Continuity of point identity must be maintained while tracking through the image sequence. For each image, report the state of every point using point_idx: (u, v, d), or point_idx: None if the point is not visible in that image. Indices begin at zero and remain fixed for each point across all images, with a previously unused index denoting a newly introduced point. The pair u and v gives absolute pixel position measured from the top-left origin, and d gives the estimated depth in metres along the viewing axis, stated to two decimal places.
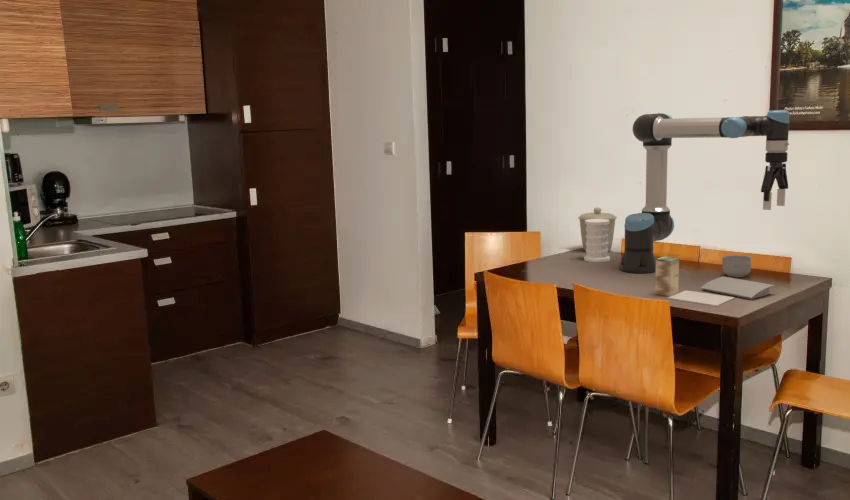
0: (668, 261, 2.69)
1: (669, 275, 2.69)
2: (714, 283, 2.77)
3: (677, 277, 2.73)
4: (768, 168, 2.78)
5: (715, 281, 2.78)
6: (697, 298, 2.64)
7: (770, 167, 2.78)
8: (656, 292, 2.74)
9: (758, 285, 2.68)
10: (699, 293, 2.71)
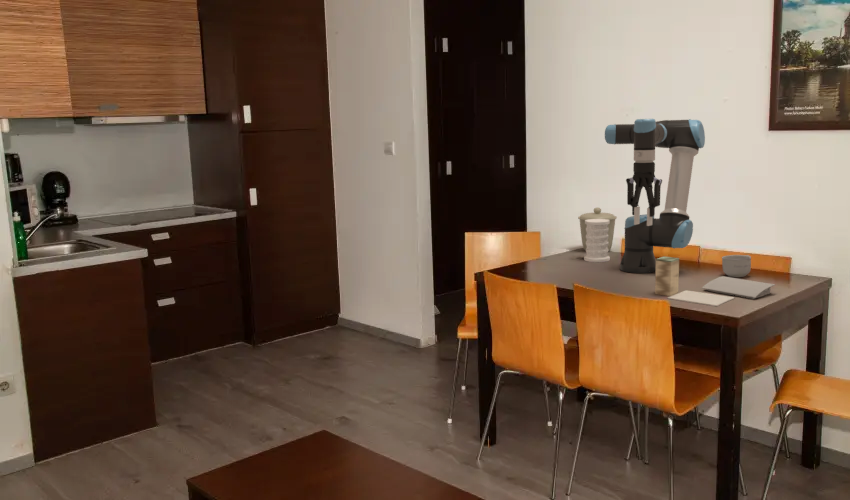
0: (668, 261, 2.69)
1: (669, 275, 2.69)
2: (714, 283, 2.77)
3: (677, 277, 2.73)
4: None
5: (715, 281, 2.78)
6: (697, 298, 2.64)
7: None
8: (656, 292, 2.74)
9: (759, 285, 2.69)
10: (699, 293, 2.71)
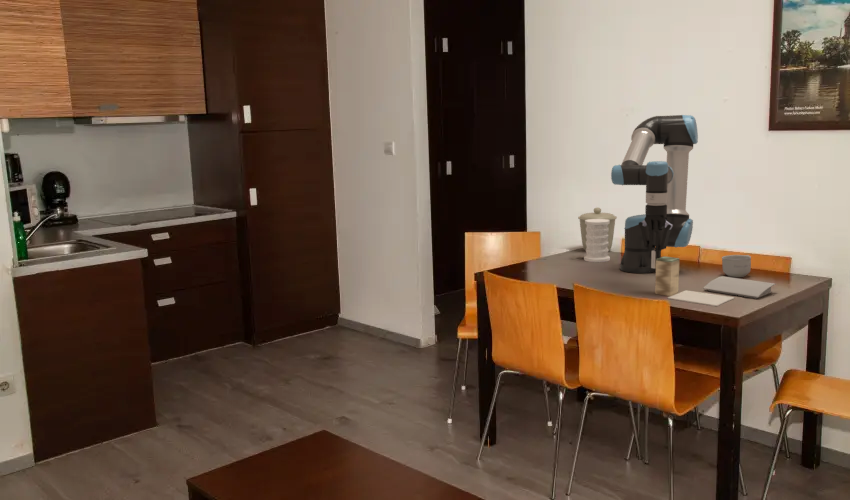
0: (668, 261, 2.69)
1: (669, 275, 2.69)
2: (715, 283, 2.77)
3: (677, 277, 2.73)
4: None
5: (716, 281, 2.78)
6: (697, 298, 2.64)
7: None
8: (656, 292, 2.74)
9: (760, 284, 2.69)
10: (699, 293, 2.71)
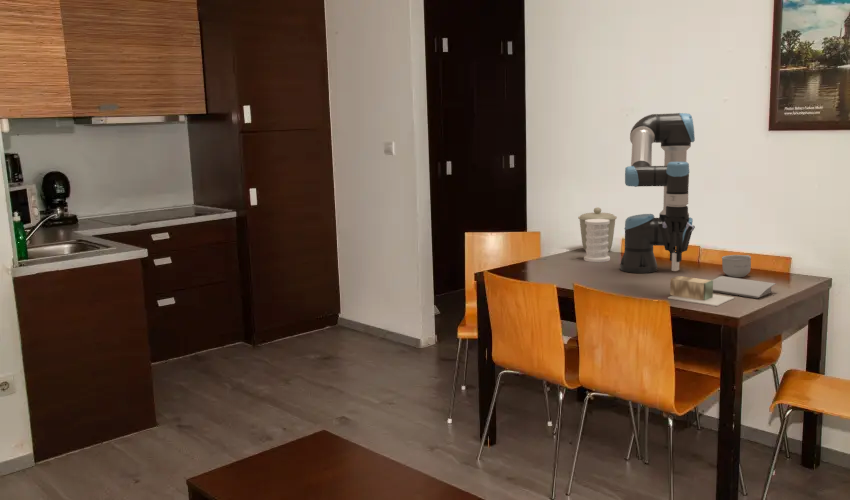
0: (704, 297, 2.61)
1: (689, 296, 2.65)
2: (715, 283, 2.77)
3: None
4: None
5: (716, 281, 2.78)
6: None
7: None
8: (672, 280, 2.69)
9: (761, 284, 2.69)
10: None
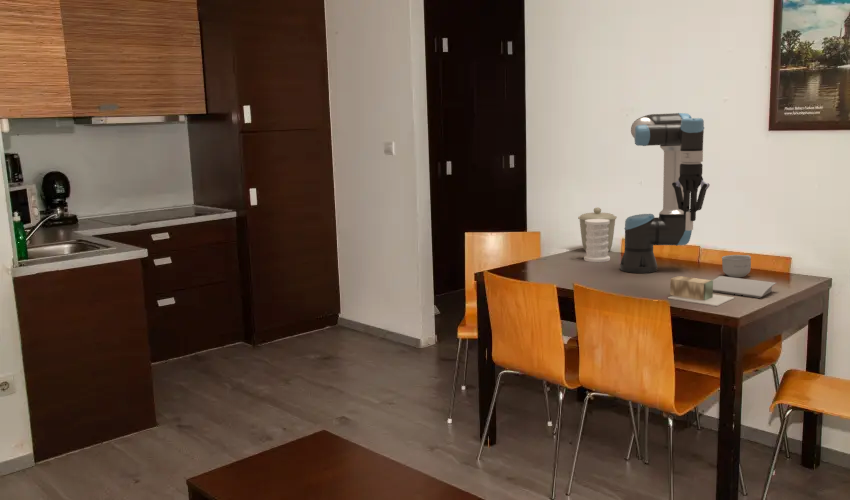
0: (704, 297, 2.61)
1: (689, 296, 2.65)
2: (716, 283, 2.77)
3: None
4: None
5: (716, 281, 2.78)
6: None
7: None
8: (672, 280, 2.69)
9: (762, 283, 2.70)
10: None
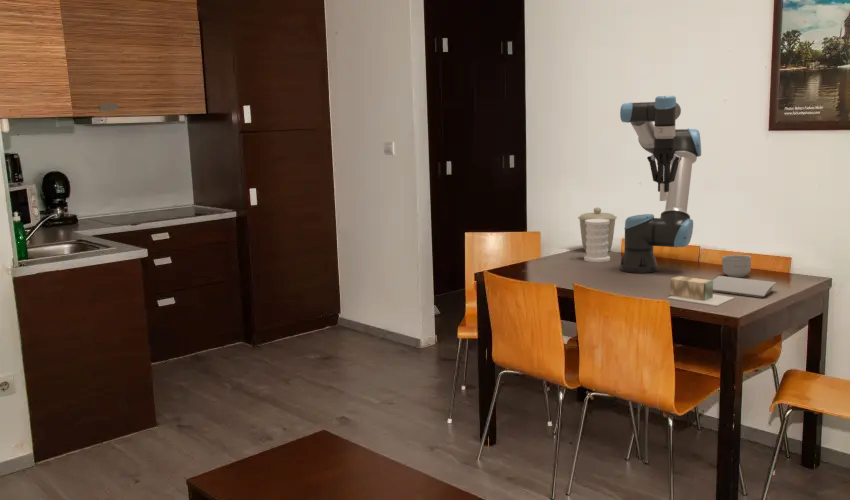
0: (704, 297, 2.61)
1: (689, 296, 2.65)
2: (717, 283, 2.77)
3: None
4: None
5: (717, 281, 2.78)
6: None
7: None
8: (672, 280, 2.69)
9: (762, 283, 2.71)
10: None
